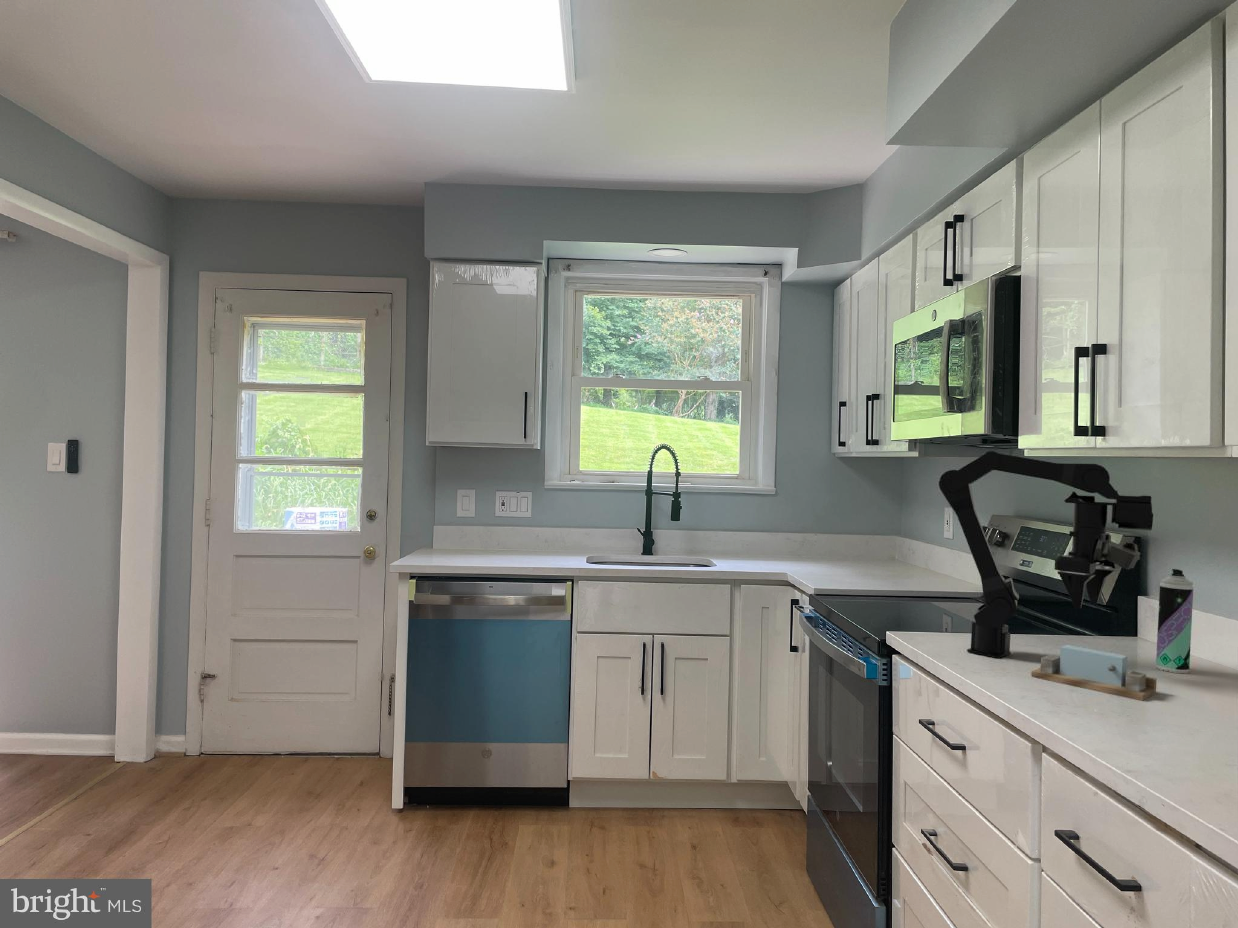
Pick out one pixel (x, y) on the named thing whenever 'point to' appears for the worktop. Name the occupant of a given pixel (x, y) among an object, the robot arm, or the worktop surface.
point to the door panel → (1093, 665)
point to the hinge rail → (1134, 687)
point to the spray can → (1174, 623)
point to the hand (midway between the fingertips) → (1086, 605)
